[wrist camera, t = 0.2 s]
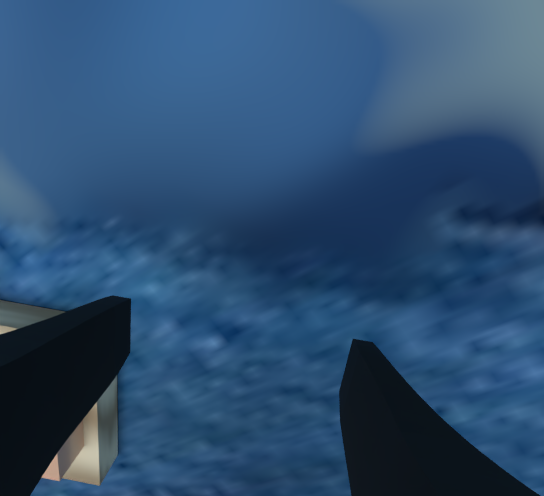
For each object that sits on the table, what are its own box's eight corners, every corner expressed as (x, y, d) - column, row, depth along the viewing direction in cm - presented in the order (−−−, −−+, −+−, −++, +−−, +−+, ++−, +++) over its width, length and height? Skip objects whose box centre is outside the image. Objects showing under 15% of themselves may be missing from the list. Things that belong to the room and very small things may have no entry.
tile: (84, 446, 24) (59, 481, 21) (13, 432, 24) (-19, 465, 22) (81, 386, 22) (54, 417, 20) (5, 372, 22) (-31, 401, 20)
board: (117, 454, 27) (99, 485, 25) (-29, 425, 28) (-60, 453, 25) (116, 320, 23) (94, 342, 21) (-55, 290, 24) (-95, 307, 21)
